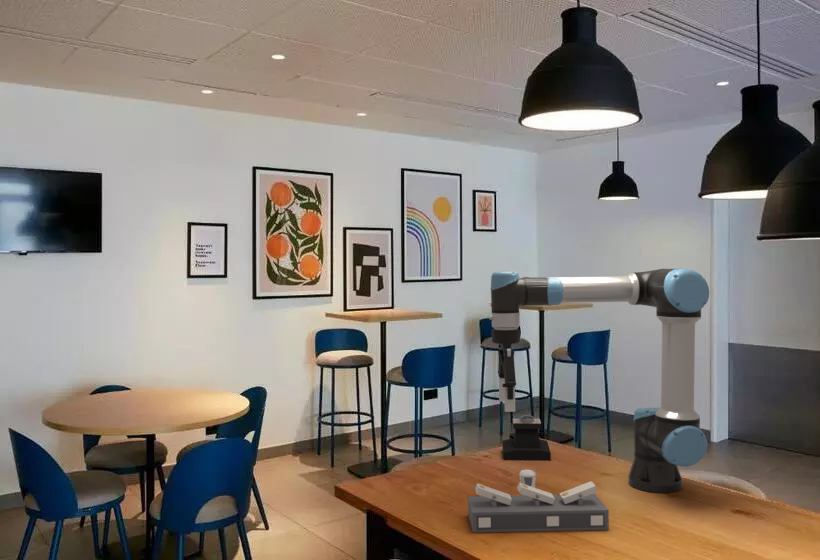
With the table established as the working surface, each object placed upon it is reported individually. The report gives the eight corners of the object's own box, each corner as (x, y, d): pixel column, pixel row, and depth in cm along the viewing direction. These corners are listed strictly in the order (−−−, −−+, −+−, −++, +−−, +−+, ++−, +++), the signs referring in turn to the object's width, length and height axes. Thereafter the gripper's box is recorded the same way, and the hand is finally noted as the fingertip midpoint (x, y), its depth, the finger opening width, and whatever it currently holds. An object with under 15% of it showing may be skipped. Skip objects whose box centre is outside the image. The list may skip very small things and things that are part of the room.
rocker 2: (593, 486, 179) (591, 480, 179) (598, 492, 175) (595, 485, 175) (561, 498, 179) (558, 492, 179) (565, 504, 175) (562, 498, 175)
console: (595, 512, 183) (595, 489, 183) (609, 530, 171) (608, 505, 171) (468, 515, 183) (467, 491, 183) (472, 532, 171) (472, 507, 170)
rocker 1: (507, 499, 179) (509, 493, 179) (510, 505, 174) (512, 499, 174) (474, 488, 179) (476, 482, 179) (476, 494, 174) (478, 488, 174)
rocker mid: (549, 498, 179) (551, 492, 179) (553, 505, 175) (555, 498, 175) (516, 487, 179) (519, 481, 179) (519, 493, 174) (522, 487, 174)
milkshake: (539, 506, 189) (538, 469, 189) (519, 505, 190) (518, 469, 190) (539, 500, 193) (538, 465, 193) (520, 499, 194) (519, 464, 194)
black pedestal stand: (503, 422, 233) (501, 409, 247) (503, 463, 234) (501, 447, 249) (550, 422, 231) (546, 409, 246) (550, 464, 233) (546, 448, 248)
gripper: (487, 324, 199) (489, 397, 199) (496, 333, 174) (497, 416, 174) (513, 324, 199) (514, 397, 199) (526, 332, 174) (527, 415, 174)
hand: (507, 406), depth 187 cm, fingers open, 13 cm apart
